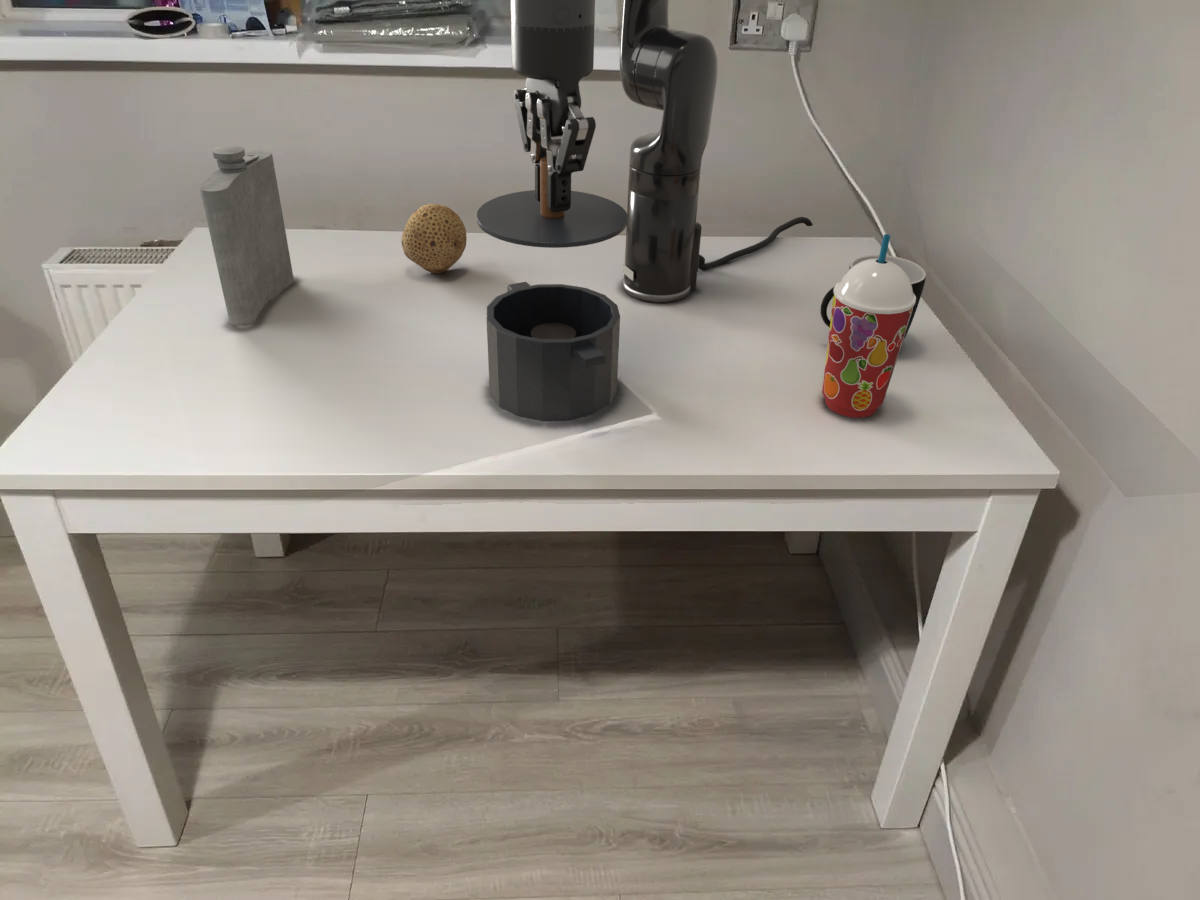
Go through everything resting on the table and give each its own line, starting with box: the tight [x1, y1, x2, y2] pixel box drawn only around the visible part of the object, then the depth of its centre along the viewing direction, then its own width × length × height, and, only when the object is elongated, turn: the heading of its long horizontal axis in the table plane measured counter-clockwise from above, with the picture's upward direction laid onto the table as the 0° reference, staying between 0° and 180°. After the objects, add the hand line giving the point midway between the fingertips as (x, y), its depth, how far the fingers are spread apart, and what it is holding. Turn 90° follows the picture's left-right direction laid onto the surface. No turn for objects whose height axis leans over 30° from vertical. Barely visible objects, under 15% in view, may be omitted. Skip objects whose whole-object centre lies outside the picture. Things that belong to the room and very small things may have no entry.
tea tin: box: [530, 323, 576, 339], centre depth 101 cm, size 5×5×7 cm
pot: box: [485, 281, 621, 422], centre depth 101 cm, size 14×20×10 cm
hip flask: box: [199, 144, 295, 327], centre depth 115 cm, size 16×4×20 cm, turn 175°
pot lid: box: [475, 156, 628, 249], centre depth 91 cm, size 15×15×7 cm
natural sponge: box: [400, 203, 468, 274], centre depth 126 cm, size 9×9×10 cm
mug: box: [820, 254, 927, 341], centre depth 112 cm, size 12×9×10 cm
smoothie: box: [821, 233, 916, 419], centre depth 97 cm, size 8×8×20 cm
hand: (552, 204), depth 91 cm, fingers closed on pot lid, 2 cm apart
